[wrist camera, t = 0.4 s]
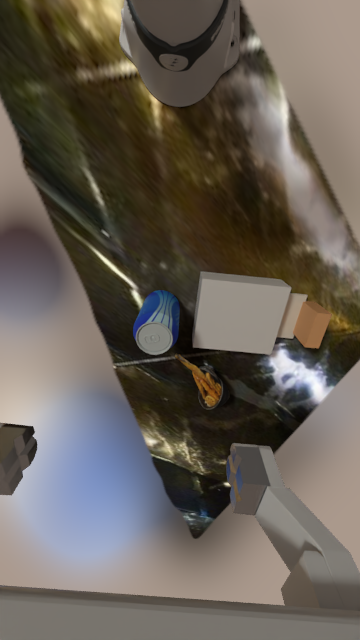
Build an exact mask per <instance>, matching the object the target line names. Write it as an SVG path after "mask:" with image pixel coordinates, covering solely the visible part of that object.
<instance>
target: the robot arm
mask: <svg viewBox="0 0 360 640" xmlns="http://www.w3.org/2000/svg"><path fill="white" fill-rule="evenodd" d="M121 15H122V22H121V29H120V38H119V40H120V45H121V49H122V50H123V52H124V53H125V55H126V56H127V57H128V58H129V59H130V60H131V61H132V62H133V63H134V64H135V66H136V67H137V69H138V71H139V74H140V76H141V78H142V80H143V82H144V84H145V86H146V87H147V88H148V90H149V91H150V92H151V93H152V94H153V95H154V96H155V97H156V98H157V99H158V100H160V101H161V102H163V103H165V104H167V105H170V106H175V107H184V106H189V105H192V104H194V103H196V102H198V101H200V100H201V99H202V98H204V97H205V96H206V95H207V94H208V93H209V92H210V90H211V89H212V88H213V86H214V85H215V83H216V82H217V80H218V79H219V77H220V76H221V75H222V74H223V73H225V72H226V71H228V70H229V69H231V68H232V67H233V66H234V65H235V64H236V63H237V61H238V58H239V48H240V0H124V8H123V9H122V10H121ZM231 42H233V44H234V46H233V47H230V45H231ZM34 433H35V431H34V428H33V426H25V425H15V424H7V423H0V495H12V494H13V492H14V491H15V489H16V487H17V486H18V484H19V482H20V481H21V479H22V478H23V474H22V471H23V470H24V469H26V468H27V467H28V466H30V464H31V462H32V461H33V459H34V457H35V454H36V451H37V441H36V439H34V437H33V434H34ZM230 450H231V455H230V456H229V457H228V460H227V479H228V483H229V484H230V485H231V487H232V489H231V492H230V498H231V504H232V510H233V513H238V514H247V515H255V518H256V519H257V521H258V522H259V524H260V526H261V527H262V528H263V530H264V532H265V533H266V535H267V536H268V538H269V539H270V541H271V543H272V544H273V546H274V547H275V549H276V550H277V552H278V553H279V555H280V556H281V558H282V559H283V561H284V563H285V564H286V566H287V567H288V569H289V570H290V572H291V573H290V575H289V577H288V578H287V580H286V582H285V583H284V585H283V587H282V588H281V591H282V596H283V600H284V604H285V606H283V605H269V604H255V603H241V602H226V601H213V600H198V599H185V598H170V597H157V596H143V595H128V594H113V593H100V592H86V591H72V590H57V589H43V588H29V587H16V586H2V585H0V640H360V573H359V570H358V568H357V566H356V564H355V562H354V560H353V558H352V556H351V554H350V552H349V551H348V550H347V549H346V548H345V547H344V546H343V545H342V544H341V543H340V542H339V541H338V540H337V539H336V537H335V536H334V535H333V534H332V533H331V532H330V531H329V530H328V529H327V528H326V527H325V526H324V525H323V524H322V522H321V521H320V520H319V519H318V518H317V517H316V516H315V515H314V514H313V513H312V512H311V511H310V510H309V509H308V508H307V507H306V505H305V504H304V503H303V502H302V501H301V500H300V499H299V498H298V497H297V496H296V495H295V494H294V493H293V492H292V491H291V489H290V488H285V485H284V482H283V480H282V477H281V474H280V471H279V469H278V466H277V463H276V461H275V458H274V455H273V452H272V450H271V448H270V447H269V446H256V445H248V444H234V443H233V444H232V446H231V449H230Z"/></svg>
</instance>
